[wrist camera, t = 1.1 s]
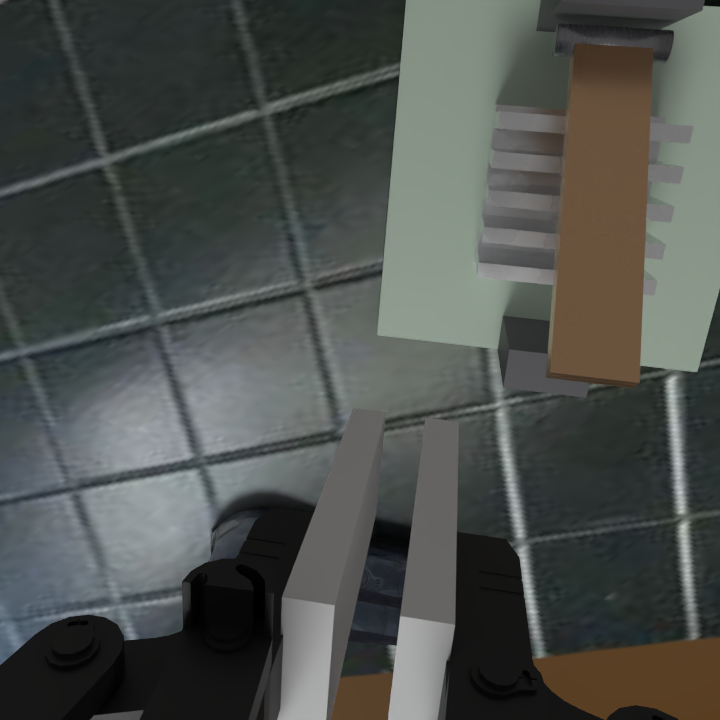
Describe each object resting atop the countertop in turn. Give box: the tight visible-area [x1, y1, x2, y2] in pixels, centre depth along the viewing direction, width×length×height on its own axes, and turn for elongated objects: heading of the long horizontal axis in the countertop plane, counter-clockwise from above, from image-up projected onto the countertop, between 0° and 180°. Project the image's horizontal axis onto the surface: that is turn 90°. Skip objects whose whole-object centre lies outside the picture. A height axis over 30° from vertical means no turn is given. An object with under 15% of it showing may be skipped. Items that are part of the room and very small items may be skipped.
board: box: [377, 0, 720, 398], centre depth 32 cm, size 18×18×10 cm
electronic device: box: [208, 507, 409, 645], centre depth 46 cm, size 9×6×15 cm
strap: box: [546, 23, 674, 388], centre depth 25 cm, size 4×15×1 cm
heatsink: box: [474, 104, 694, 296], centre depth 32 cm, size 8×8×6 cm
